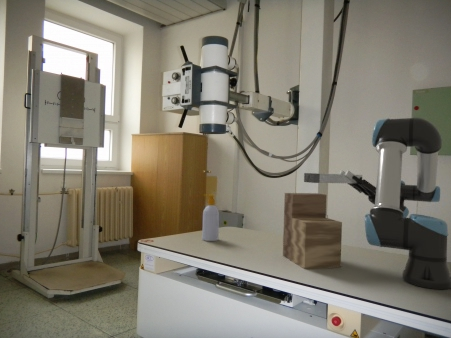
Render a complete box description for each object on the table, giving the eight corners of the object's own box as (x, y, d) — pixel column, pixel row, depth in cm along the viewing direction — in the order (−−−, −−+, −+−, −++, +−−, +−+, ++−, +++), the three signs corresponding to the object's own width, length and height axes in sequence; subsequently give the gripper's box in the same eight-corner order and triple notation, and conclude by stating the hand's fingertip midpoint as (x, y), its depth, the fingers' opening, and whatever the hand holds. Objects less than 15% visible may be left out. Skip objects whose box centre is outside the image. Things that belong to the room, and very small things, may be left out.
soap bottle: (205, 237, 189) (207, 193, 189) (221, 239, 185) (222, 194, 185) (197, 239, 181) (199, 194, 181) (213, 241, 177) (214, 195, 177)
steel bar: (364, 183, 154) (365, 175, 154) (313, 182, 147) (313, 173, 147) (353, 183, 162) (354, 174, 162) (304, 181, 155) (304, 173, 155)
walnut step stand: (340, 267, 138) (342, 197, 137) (304, 268, 133) (306, 197, 133) (315, 254, 157) (316, 193, 157) (282, 255, 153) (284, 192, 153)
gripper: (389, 207, 152) (351, 180, 147) (364, 203, 169) (328, 179, 163) (397, 193, 153) (359, 165, 148) (371, 190, 170) (336, 165, 164)
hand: (343, 172), depth 156 cm, fingers closed on steel bar, 4 cm apart
